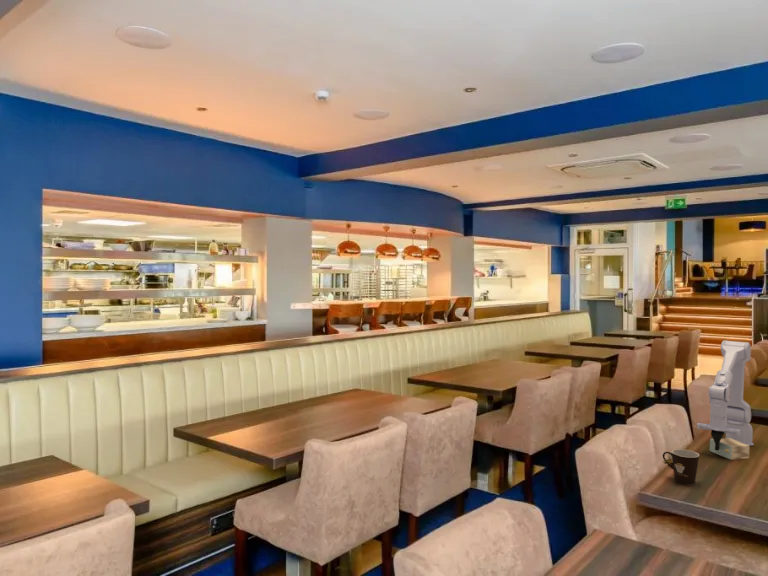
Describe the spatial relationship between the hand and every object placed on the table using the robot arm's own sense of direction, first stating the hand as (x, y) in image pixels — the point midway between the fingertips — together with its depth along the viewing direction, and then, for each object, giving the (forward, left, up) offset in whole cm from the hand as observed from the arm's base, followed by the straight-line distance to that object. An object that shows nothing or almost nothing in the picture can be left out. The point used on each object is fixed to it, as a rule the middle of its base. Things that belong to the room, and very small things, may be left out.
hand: (717, 449), depth 228 cm
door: (-2, -1, -3) cm, 3 cm away
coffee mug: (+30, +19, -3) cm, 35 cm away
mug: (+22, +5, -3) cm, 23 cm away
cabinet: (-7, -1, -3) cm, 7 cm away
